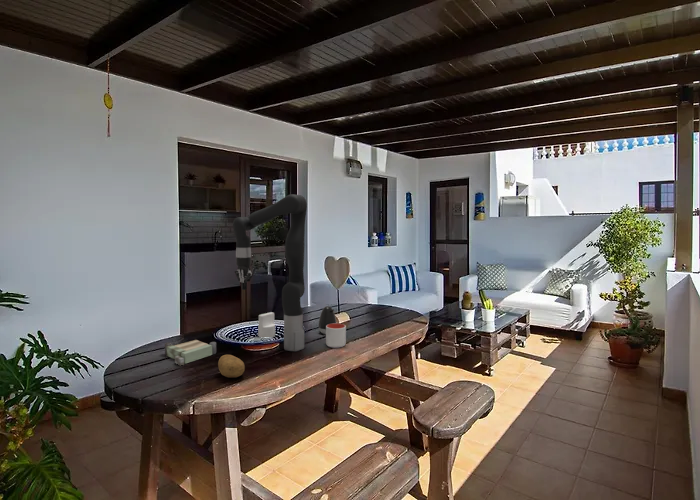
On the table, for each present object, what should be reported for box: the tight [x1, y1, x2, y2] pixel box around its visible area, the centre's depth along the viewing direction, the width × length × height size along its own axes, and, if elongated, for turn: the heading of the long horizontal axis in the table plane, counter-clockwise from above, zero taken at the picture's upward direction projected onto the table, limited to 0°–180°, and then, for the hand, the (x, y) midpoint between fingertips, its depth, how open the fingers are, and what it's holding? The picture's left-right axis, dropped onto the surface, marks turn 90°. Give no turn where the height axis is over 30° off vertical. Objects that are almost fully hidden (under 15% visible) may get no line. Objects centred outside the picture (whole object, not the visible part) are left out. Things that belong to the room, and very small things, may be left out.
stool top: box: [164, 339, 208, 367], centre depth 186 cm, size 20×17×5 cm
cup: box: [325, 322, 347, 349], centre depth 203 cm, size 10×10×10 cm
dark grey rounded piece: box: [318, 305, 337, 335], centre depth 223 cm, size 10×10×15 cm
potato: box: [217, 354, 246, 379], centre depth 163 cm, size 10×14×8 cm
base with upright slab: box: [257, 311, 276, 338], centre depth 218 cm, size 9×9×12 cm
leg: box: [181, 341, 217, 365], centre depth 184 cm, size 17×3×5 cm, turn 145°
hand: (244, 289), depth 207 cm, fingers closed
